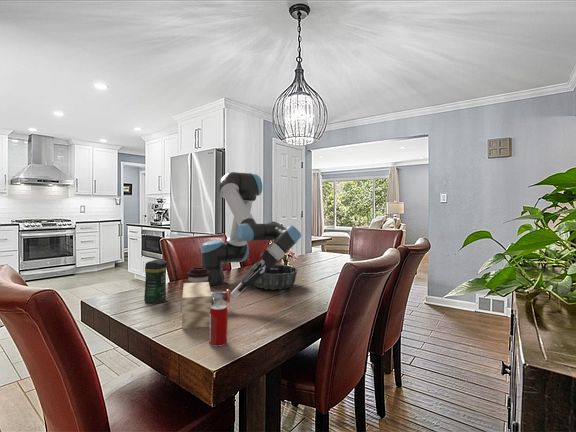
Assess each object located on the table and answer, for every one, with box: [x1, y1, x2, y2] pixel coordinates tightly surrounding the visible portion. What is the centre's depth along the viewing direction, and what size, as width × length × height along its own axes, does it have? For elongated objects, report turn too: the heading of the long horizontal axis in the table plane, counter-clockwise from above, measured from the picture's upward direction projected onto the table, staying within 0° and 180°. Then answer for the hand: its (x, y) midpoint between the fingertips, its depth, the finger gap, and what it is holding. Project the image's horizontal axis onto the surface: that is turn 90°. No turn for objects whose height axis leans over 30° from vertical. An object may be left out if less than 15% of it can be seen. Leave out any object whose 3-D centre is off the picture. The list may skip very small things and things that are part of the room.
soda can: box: [208, 303, 229, 348], centre depth 99 cm, size 6×6×12 cm
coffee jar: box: [143, 258, 167, 304], centre depth 142 cm, size 10×8×19 cm
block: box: [181, 282, 212, 330], centre depth 122 cm, size 10×22×11 cm, turn 17°
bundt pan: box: [249, 263, 299, 291], centre depth 173 cm, size 26×26×10 cm
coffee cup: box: [186, 266, 210, 283], centre depth 142 cm, size 10×10×15 cm
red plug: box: [211, 288, 231, 304], centre depth 130 cm, size 12×6×6 cm, turn 107°
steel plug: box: [180, 297, 217, 314], centre depth 117 cm, size 12×6×6 cm, turn 107°
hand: (232, 296), depth 131 cm, fingers closed
